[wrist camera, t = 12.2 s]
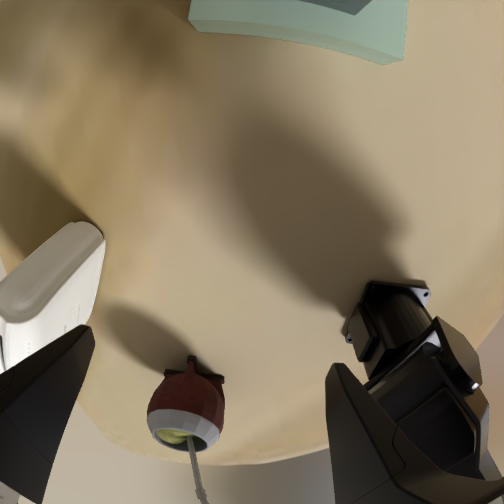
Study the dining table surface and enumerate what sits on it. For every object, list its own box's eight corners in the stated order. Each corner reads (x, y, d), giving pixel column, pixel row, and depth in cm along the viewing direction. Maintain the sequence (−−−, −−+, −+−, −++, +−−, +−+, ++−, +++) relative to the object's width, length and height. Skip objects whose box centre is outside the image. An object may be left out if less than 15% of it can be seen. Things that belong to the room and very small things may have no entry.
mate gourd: (156, 348, 26) (110, 488, 13) (237, 357, 26) (223, 511, 13) (167, 392, 30) (137, 509, 17) (236, 400, 30) (225, 524, 17)
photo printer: (94, 319, 25) (37, 419, 14) (59, 299, 24) (-6, 389, 13) (114, 233, 21) (19, 342, 10) (72, 211, 20) (-35, 298, 9)
